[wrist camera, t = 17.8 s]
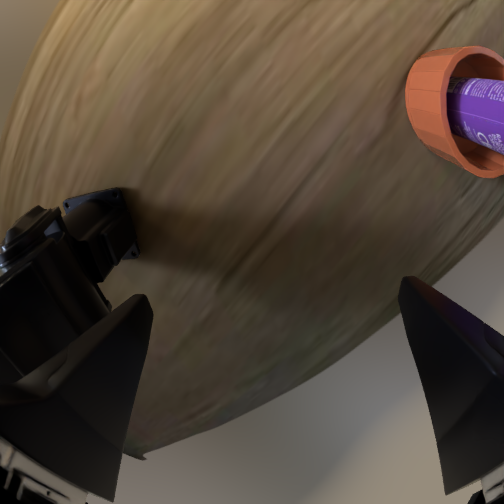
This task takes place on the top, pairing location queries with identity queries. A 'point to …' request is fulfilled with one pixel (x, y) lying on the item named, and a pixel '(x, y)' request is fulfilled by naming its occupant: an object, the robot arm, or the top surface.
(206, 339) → the top surface
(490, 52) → the orange-brown bowl
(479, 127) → the container
